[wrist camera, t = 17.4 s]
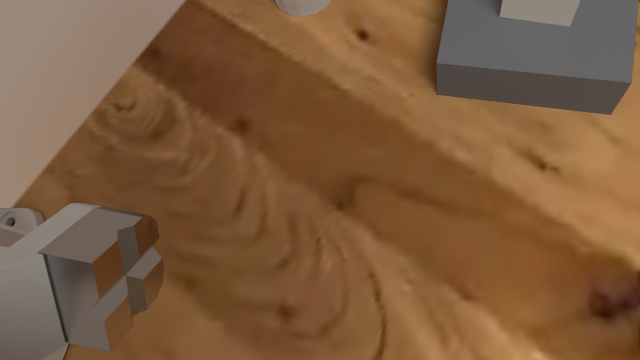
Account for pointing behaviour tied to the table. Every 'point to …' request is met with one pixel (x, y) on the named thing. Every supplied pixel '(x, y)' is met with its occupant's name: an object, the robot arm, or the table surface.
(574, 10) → the cream block
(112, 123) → the table surface
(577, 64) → the slate block
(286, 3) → the white cylinder
